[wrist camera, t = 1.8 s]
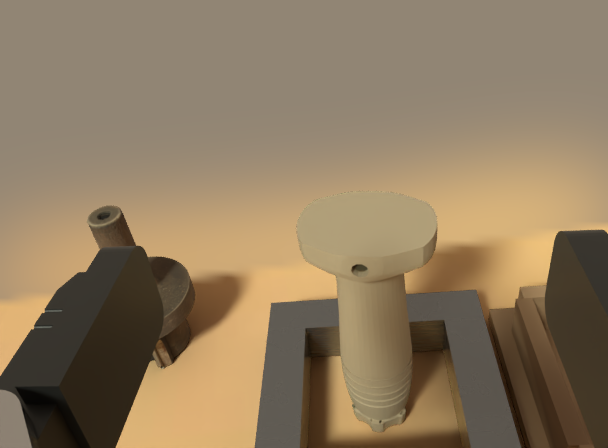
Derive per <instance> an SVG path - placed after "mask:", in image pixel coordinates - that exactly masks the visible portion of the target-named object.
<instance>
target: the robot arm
mask: <svg viewBox="0 0 608 448" xmlns="http://www.w3.org/2000/svg"><path fill="white" fill-rule="evenodd" d="M545 314H546V320H547V324H548V327H549V330H550V333H551V335H552V338H553V341H554V343H555V346H556V348H557V351H558V354H559V356H560V359H561V361H562V364H563V367H564V369H565V372H566V375H567V377H568V380H569V382H570V385H571V388H572V390H573V393H574V395H575V398H576V401H577V403H578V406H579V409H580V411H581V414H582V416H583V419H584V422H585V424H586V427H587V429H588V432H589V435H590V437H591V440H592V443H593V445H594V448H608V234H607V232H606V231H604V230H580V231H560V232H558V233H557V235H556V238H555V241H554V247H553V252H552V258H551V263H550V269H549V275H548V280H547V286H546V291H545ZM163 321H164V310H163V303H162V300H161V296H160V293H159V290H158V287H157V284H156V281H155V278H154V275H153V272H152V269H151V266H150V263H149V260H148V257H147V254H146V252H145V250H144V249H143V248H142V247H141V246H120V247H103V248H102V249H100V251H99V252H98V254H97V255H96V257H95V258H94V260H93V261H92V263H91V265H90V266H89V268H88V270H87V271H86V272H79V273H77V274H76V275H75V276H74V277H72V278H71V279H70V280H69V281H68V282H66V283H65V284H64V285H63V286H62V287H60V288H59V289H58V290H57V291H56V293H55V294H54V296H53V297H52V299H51V300H50V302H49V303H48V305H47V307H46V308H45V313H42V314H41V316H40V317H39V319H38V320H37V322H36V323H35V325H34V329H33V330H31V331H30V332H29V334H28V335H27V337H26V338H25V340H24V341H23V343H22V344H21V346H20V347H19V349H18V350H17V352H16V353H15V355H14V356H13V358H12V359H11V361H10V363H9V364H8V366H7V367H6V369H5V370H4V372H3V373H2V375H1V376H0V448H115V447H116V445H117V442H118V440H119V437H120V435H121V432H122V430H123V427H124V425H125V422H126V420H127V417H128V415H129V412H130V410H131V407H132V405H133V402H134V400H135V397H136V395H137V392H138V390H139V387H140V385H141V382H142V379H143V377H144V374H145V372H146V369H147V367H148V364H149V362H150V359H151V357H152V354H153V352H154V349H155V347H156V344H157V342H158V339H159V337H160V334H161V331H162V327H163Z"/></svg>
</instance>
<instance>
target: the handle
mask: <svg viewBox="0 0 608 448" xmlns="http://www.w3.org/2000/svg"><path fill="white" fill-rule="evenodd" d="M297 237H298V242H299V247H300V250H301V253H302V255H303V257H304V259H305V260H306V262H308V263H310V264H312V265H314V266H316V267H318V268H320V269H322V270H324V271H326V272H328V273H330V274H333V275H336V279H337V293H338V308H339V331H340V353H341V361H342V368H343V374H344V378H345V382H346V386H347V389H348V392H349V395H350V397H351V400H352V402H353V404H352V406H353V410H354V413H355V415H356V417H357V419H358V420H359V421H363V422H365V423H367V424H368V425H370V427H371V428H372V430H373V431H375V432H384V430H385V429H386V428H388V427H390V426H393V425H400V424H402V423H403V421H404V420H405V416H406V409H405V405H406V403H407V401H408V397H409V393H410V387H411V380H412V344H411V336H410V328H409V320H408V312H407V302H406V291H405V280H404V273H406V272H409V271H412V270H415V269H417V268H420V267H422V266H424V265H425V264H426V263H427V262H428V261H429V260H430V258H431V257H432V255H433V253H434V251H435V247H436V241H437V216H436V214H435V211H434V209H433V208H432V207H431V206H430V205H429V204H428V203H427V202H425V201H422V200H419V199H416V198H412V197H409V196H405V195H402V194H397V193H393V192H376V191H372V192H371V191H357V192H347V193H341V194H337V195H333V196H329V197H325V198H321V199H317V200H315V201H313V202H312V203H310V204H309V205H308V206H307V207H306V208H305V209H304V210H303V212H302V213H301V215H300V217H299V219H298V222H297Z"/></svg>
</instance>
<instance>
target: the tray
mask: <svg viewBox="0 0 608 448" xmlns="http://www.w3.org/2000/svg"><path fill="white" fill-rule="evenodd" d="M546 286H547V285H545V286H530V287H520V290H519V297H518V299H516V302H515V308H505V309H489V318H488V320H489V323H490V327H491V330H492V333H493V337H494V340H495V344H496V347H497V351H498V354H499V357H500V361H501V364H502V368H503V371H504V374H505V378H506V381H507V385H508V388H509V391H510V395H511V398H512V402H513V405H514V409H515V412H516V415H517V419H518V422H519V426H520V429H521V432H522V436H523V439H524V443H525V446H526V448H594V445H593V443H592V440H591V437H590V435H589V432H588V429H587V427H586V424H585V422H584V419H583V416H582V414H581V411H580V409H579V406H578V403H577V401H576V398H575V395H574V393H573V390H572V388H571V385H570V382H569V380H568V377H567V375H566V372H565V369H564V367H563V364H562V361H561V359H560V356H559V354H558V351H557V348H556V346H555V343H554V341H553V338H552V335H551V333H550V330H549V327H548V324H547V320H546V314H545V291H546Z"/></svg>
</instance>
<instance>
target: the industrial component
mask: <svg viewBox="0 0 608 448" xmlns="http://www.w3.org/2000/svg"><path fill="white" fill-rule="evenodd" d="M87 223H88V224H89V227H90V228H91V231H92V233H93V236H94V238H95V240H96V242H97V244H98V246H99V248H100V249H102V248H103V247H120V246H136V244H135V242H134V239H133V237H132V235H131V232H130V230H129V227H128V225H127V222H126V220H125V218H124V215H123V213H122V211H121V209H120V208H119V207H117V206H104V207H101V208H99V209H97V210H95V211H93V212H92V213H91V214H90V215H89V217H88V220H87ZM148 260H149V263H150V266H151V269H152V272H153V275H154V278H155V281H156V284H157V287H158V290H159V293H160V296H161V300H162V303H163V310H164V321H163V327H162V331H161V334H160V337H159V339H158V342H157V344H156V347H155V349H154V352H153V354H152V357H151V359H150V360H155V361H156V363H157V366H158V367H161V369H164V368H165V367H166V366H169V365H171V364H172V363H173V360H174V357H176V356H178V354H180V353H181V352H182V351H183V350H184V348H185V347H186V345H187V344H188V342H189V339H190V328H189V325H188V322H187V320H186V317H187V316H188V315H189V313H190V311H191V309H192V307H193V304H194V300H195V291H194V287H193V285H192V282H191V279H190V276H189V274H188V272H187V270H186V269H185V267H184V266H183V265H182V264H180V263H179V262H177V261H175V260H173V259H170V258H165V257H148Z"/></svg>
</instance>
